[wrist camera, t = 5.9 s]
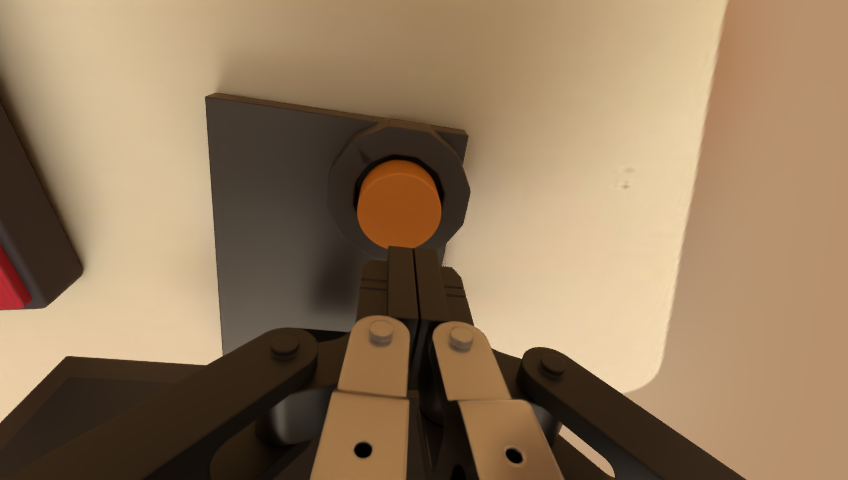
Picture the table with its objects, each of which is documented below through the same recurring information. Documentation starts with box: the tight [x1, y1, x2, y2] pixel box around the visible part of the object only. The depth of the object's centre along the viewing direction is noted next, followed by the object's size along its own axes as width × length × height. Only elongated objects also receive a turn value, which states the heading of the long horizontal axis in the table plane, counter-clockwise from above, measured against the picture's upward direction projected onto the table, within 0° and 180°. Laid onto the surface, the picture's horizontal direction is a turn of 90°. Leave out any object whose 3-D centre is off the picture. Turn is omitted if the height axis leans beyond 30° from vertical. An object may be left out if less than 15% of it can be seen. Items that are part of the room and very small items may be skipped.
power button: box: [357, 160, 441, 249], centre depth 19 cm, size 4×4×2 cm
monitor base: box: [205, 93, 470, 356], centre depth 22 cm, size 15×12×3 cm
